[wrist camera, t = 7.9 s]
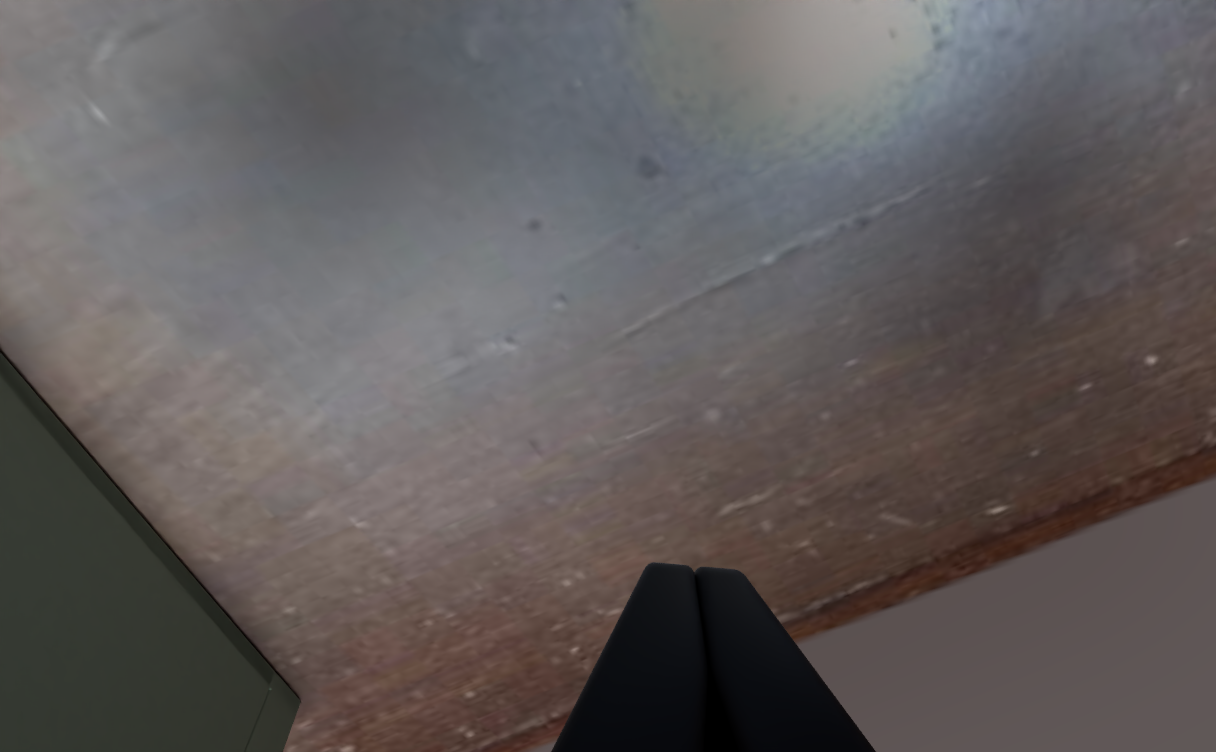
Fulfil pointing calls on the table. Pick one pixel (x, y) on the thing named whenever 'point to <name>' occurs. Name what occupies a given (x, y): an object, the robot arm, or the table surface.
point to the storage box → (110, 615)
